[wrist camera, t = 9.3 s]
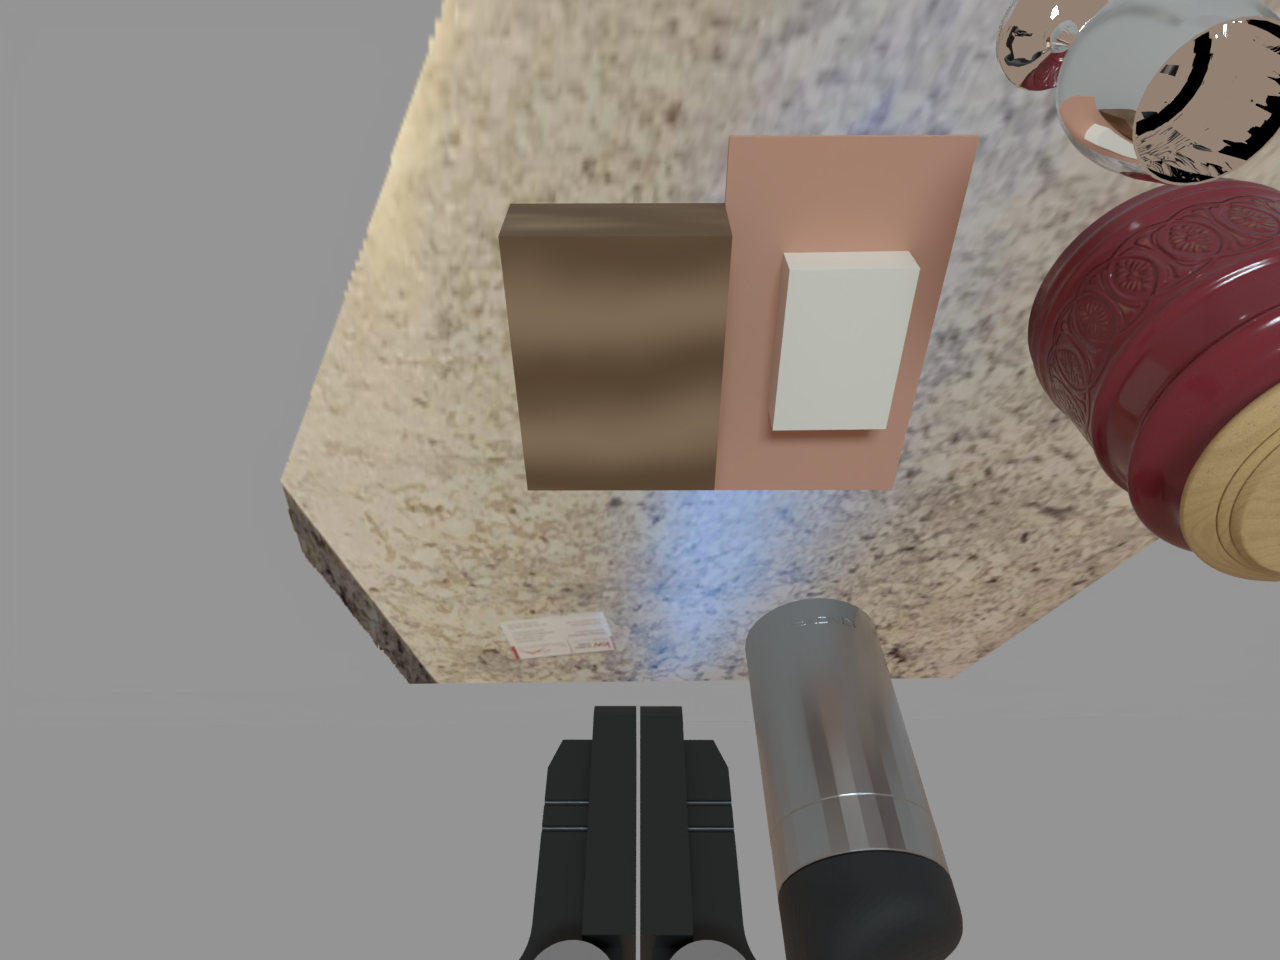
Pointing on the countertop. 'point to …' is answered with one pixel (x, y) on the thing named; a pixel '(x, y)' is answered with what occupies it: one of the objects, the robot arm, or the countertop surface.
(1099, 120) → the wineglass
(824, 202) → the mat
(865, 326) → the pale grey rectangular block
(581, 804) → the robot arm
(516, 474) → the countertop surface
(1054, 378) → the canister
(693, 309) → the block
